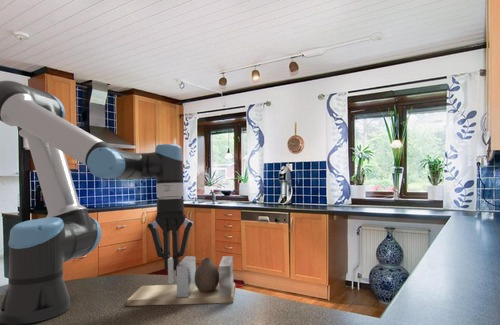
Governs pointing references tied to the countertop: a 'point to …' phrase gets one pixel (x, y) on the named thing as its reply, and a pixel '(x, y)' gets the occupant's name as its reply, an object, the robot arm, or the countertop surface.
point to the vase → (206, 276)
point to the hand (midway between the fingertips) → (172, 281)
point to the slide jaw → (186, 276)
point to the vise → (169, 292)
